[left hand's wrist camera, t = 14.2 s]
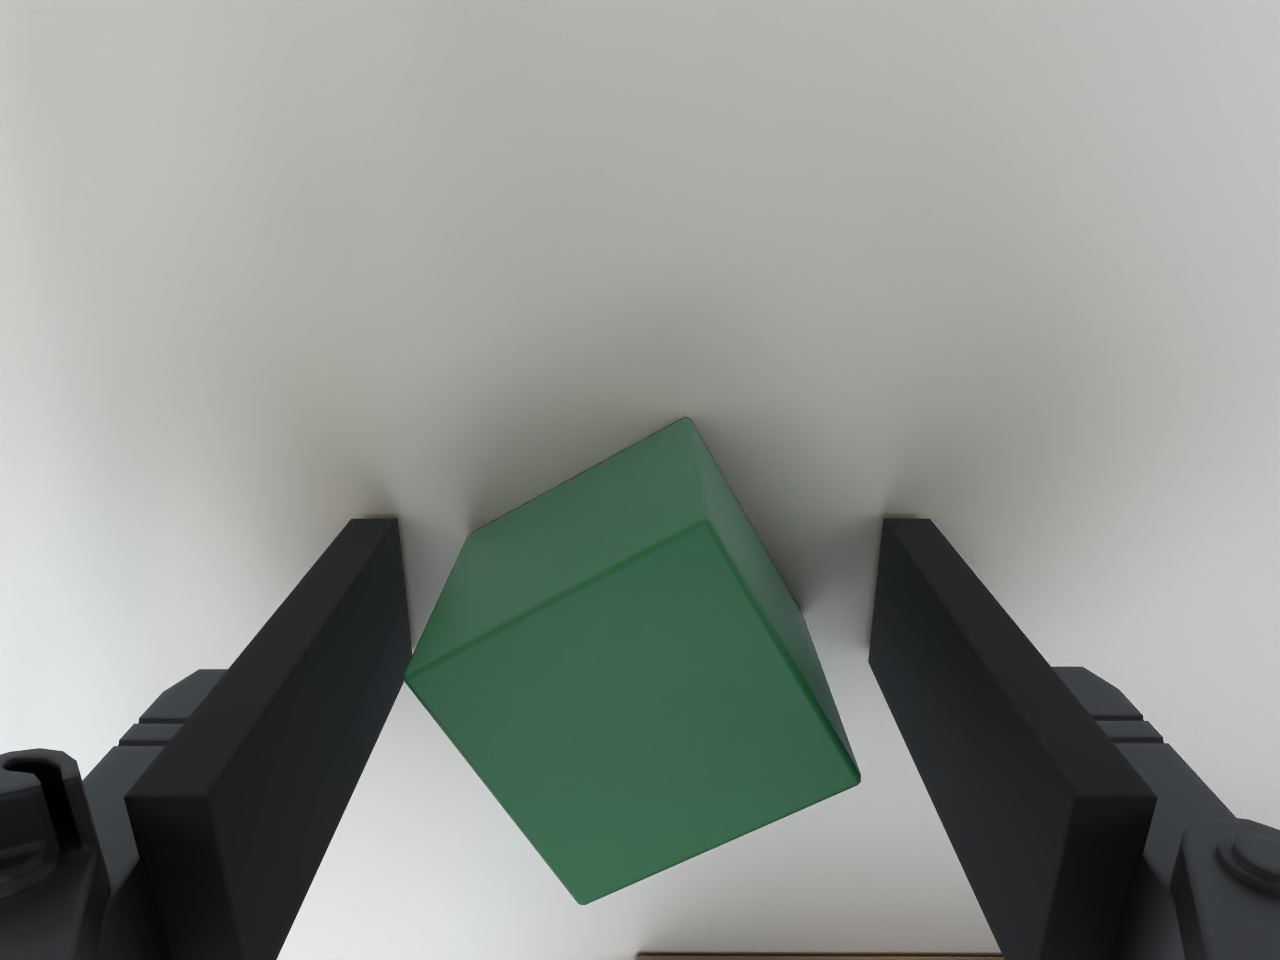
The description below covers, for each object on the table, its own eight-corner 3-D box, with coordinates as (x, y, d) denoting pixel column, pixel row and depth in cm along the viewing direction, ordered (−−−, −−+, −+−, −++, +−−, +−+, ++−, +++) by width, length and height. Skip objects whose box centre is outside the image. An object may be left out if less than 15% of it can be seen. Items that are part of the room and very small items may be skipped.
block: (595, 719, 15) (579, 910, 11) (465, 534, 14) (397, 678, 10) (804, 617, 15) (864, 785, 11) (688, 413, 13) (708, 517, 9)
